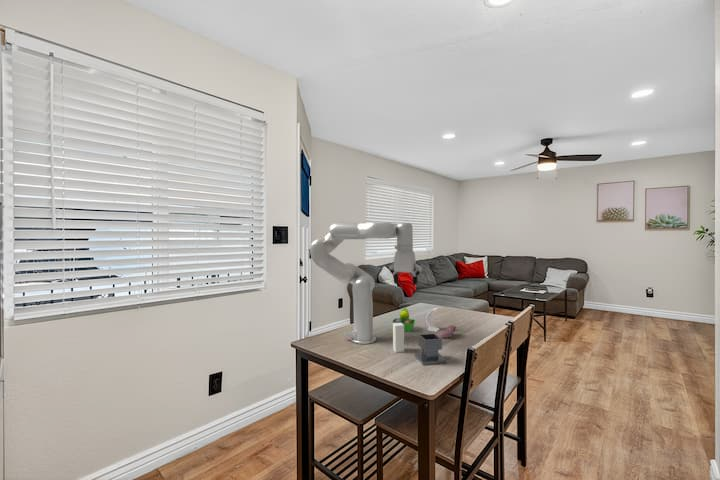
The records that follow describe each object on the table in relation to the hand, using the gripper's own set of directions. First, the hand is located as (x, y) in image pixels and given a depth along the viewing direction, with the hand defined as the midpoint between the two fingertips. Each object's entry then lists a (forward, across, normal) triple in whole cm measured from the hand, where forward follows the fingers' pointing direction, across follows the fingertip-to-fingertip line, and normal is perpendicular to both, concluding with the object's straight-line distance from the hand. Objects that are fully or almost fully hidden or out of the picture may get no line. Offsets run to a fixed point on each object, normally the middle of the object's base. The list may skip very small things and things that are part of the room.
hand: (405, 283), depth 151 cm
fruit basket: (+29, -9, +18) cm, 35 cm away
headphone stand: (+29, +4, +25) cm, 39 cm away
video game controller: (+29, +15, +19) cm, 38 cm away
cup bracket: (+28, +17, -14) cm, 36 cm away
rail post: (+28, +2, -12) cm, 31 cm away
